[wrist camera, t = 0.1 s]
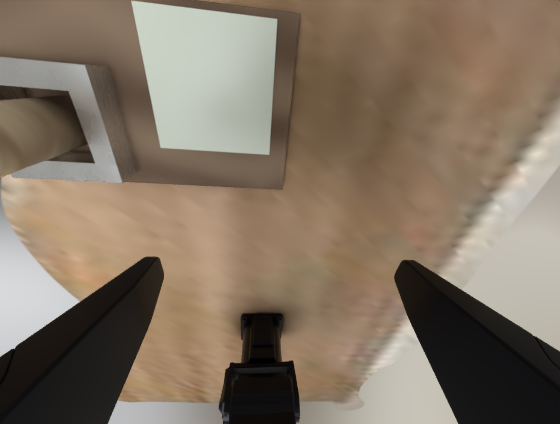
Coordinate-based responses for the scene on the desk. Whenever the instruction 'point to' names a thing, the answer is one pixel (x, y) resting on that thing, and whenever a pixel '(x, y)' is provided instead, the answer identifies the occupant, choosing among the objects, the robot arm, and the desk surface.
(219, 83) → the coaster
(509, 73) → the desk surface
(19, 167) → the peg
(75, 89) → the collar
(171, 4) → the board
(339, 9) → the desk surface
